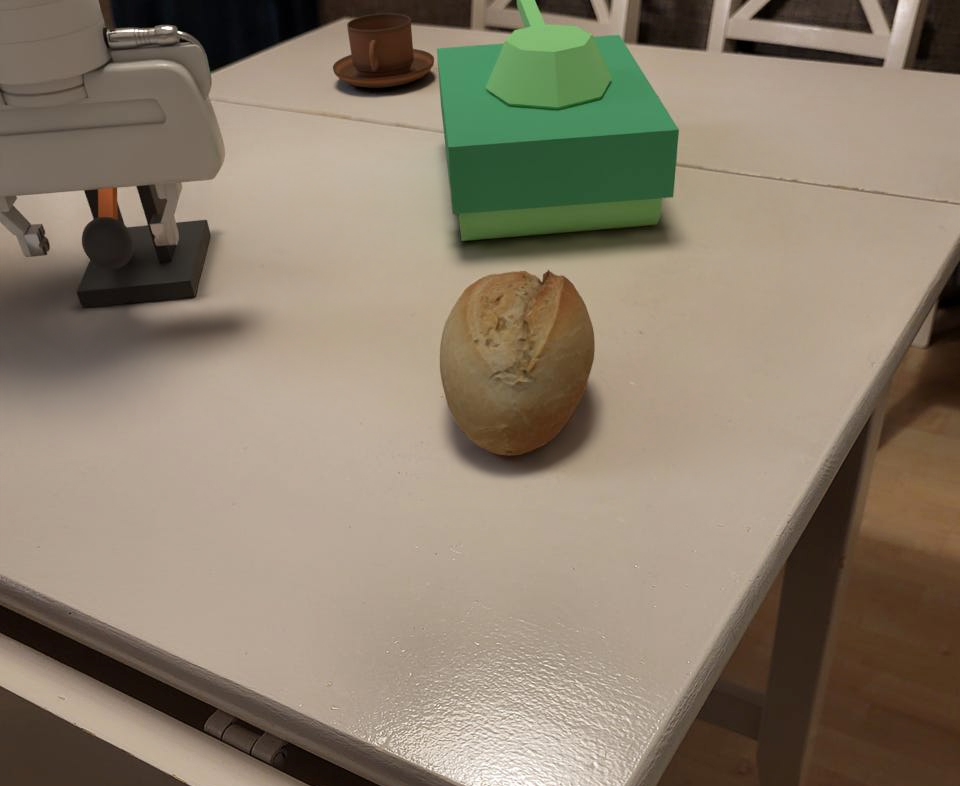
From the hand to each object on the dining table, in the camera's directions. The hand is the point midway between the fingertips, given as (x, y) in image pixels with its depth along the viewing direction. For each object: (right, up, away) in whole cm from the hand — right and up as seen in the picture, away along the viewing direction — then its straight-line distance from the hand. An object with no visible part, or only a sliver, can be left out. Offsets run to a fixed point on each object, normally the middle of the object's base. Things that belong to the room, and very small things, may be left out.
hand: (103, 248), depth 71 cm
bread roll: (+30, -13, -7) cm, 34 cm away
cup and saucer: (+16, +37, +45) cm, 60 cm away
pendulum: (0, +5, +3) cm, 5 cm away
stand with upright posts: (0, +2, +10) cm, 11 cm away
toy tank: (+33, +15, +22) cm, 43 cm away
